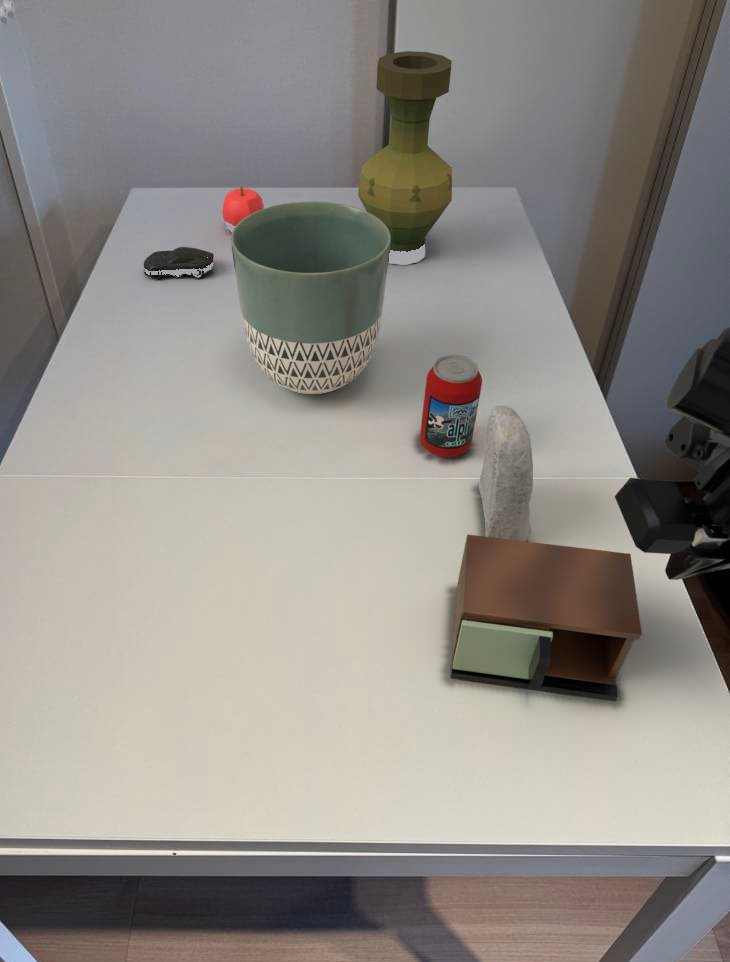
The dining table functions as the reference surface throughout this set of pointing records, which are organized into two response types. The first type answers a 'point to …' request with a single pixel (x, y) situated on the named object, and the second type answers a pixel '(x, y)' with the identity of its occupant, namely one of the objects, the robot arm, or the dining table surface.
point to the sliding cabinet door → (504, 651)
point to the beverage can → (450, 405)
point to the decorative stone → (506, 476)
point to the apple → (241, 205)
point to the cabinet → (553, 609)
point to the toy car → (177, 260)
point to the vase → (408, 151)
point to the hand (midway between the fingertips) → (670, 575)
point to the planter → (311, 291)
